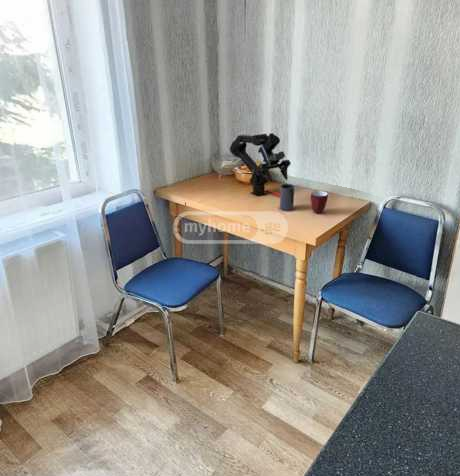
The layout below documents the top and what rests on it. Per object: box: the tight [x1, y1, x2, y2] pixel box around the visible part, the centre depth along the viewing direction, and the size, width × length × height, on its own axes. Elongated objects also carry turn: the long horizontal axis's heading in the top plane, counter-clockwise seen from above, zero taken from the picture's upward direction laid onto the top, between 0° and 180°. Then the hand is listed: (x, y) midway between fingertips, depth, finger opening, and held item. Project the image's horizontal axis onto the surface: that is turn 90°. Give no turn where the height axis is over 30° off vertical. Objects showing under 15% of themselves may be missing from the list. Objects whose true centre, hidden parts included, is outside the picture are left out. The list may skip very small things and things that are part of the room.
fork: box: [265, 188, 281, 198], centre depth 222 cm, size 16×3×1 cm, turn 36°
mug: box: [310, 190, 329, 215], centre depth 195 cm, size 11×8×10 cm
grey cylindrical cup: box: [279, 183, 296, 212], centre depth 200 cm, size 7×7×12 cm
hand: (279, 180), depth 203 cm, fingers open, 9 cm apart
